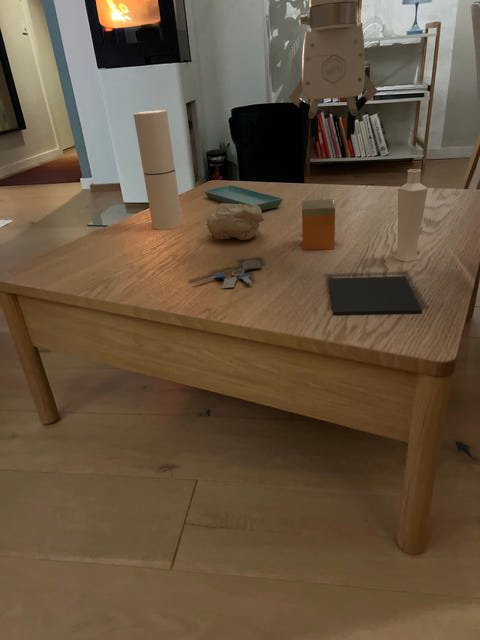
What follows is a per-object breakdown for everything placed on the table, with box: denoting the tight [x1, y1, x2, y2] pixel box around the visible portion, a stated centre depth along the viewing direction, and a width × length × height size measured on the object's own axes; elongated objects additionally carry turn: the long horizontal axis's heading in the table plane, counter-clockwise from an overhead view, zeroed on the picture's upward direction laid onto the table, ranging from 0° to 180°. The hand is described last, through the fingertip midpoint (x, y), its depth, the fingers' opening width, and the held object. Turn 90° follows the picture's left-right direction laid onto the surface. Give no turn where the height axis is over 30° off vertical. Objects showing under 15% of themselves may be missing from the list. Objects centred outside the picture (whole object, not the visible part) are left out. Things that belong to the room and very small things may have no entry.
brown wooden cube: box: [301, 198, 336, 251], centre depth 92 cm, size 8×6×6 cm
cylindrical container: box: [133, 109, 183, 231], centre depth 108 cm, size 7×7×25 cm
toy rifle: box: [192, 260, 262, 289], centre depth 81 cm, size 14×8×1 cm, turn 133°
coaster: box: [328, 275, 423, 316], centre depth 71 cm, size 12×12×1 cm
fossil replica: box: [206, 203, 265, 241], centre depth 99 cm, size 12×8×10 cm
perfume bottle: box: [394, 168, 429, 263], centre depth 80 cm, size 5×4×15 cm
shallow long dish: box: [203, 184, 284, 212], centre depth 127 cm, size 26×9×2 cm, turn 32°
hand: (331, 139), depth 84 cm, fingers open, 4 cm apart
